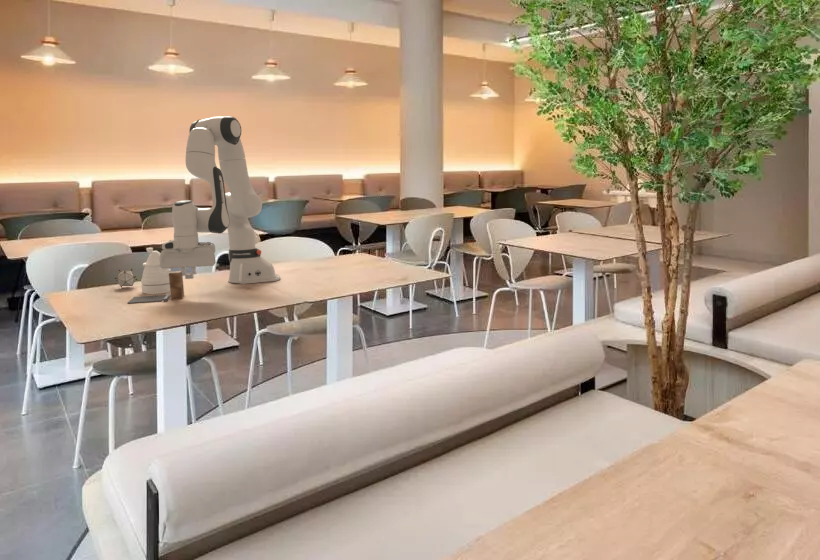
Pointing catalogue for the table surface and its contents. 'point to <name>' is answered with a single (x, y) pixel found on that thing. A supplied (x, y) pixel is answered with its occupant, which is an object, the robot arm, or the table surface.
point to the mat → (147, 299)
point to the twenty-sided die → (126, 278)
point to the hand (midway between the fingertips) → (189, 278)
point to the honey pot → (155, 275)
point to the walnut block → (176, 285)
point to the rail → (167, 297)
